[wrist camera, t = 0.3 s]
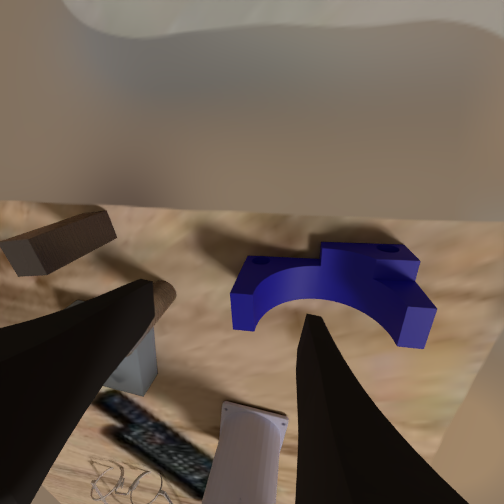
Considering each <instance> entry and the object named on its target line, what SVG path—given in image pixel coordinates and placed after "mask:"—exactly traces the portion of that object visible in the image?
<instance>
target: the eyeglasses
mask: <svg viewBox="0 0 504 504" xmlns="http://www.w3.org/2000/svg"><path fill="white" fill-rule="evenodd" d="M112 468H113V467H111V468H109V469H107V470H106V471H104V472H103V473H102V474H101V475H100V476H99V477H98V479H97V480H92V482H91V484H92V486H93V487H92V489H91V497H92V491H93V488H94V489H95V490H96V492H97V493H98V495H99V496H100V498H99V499H94V498H93V497H92V499H93V500H95V501H99V500H102V501H103V502H104V504H107V502H106V500H105V499H104V498H106V497H107V496H108V495H110V494H111V493H112V492H113V491H114V489H115V488H116V489H115V494H120V495H129V492H130V491H131V495H130V499H131V496H132V491H133V490H135V488H136V487H137V485H138V484H139V480H140V479H141V478H142V477H143V476H144V475H146V474H148V473H151V472H148V471H145V472H144V473H142V474H141V475H139V476H138V477H137V478H136V480H135V481H134V482H133V483H132V485H131V486H130V487H129V491H128V493H119V492H116V491H117V489H118V488H119V487H120V486H121V485H122V487H123V484H124V479H125V478H123V476H124V469H123V468H122V469H121V468H120V469H121V476H120V479H119V481H118V483H117V484H116V486H115V487H114V488H113V489H112V490H111V491H110V492H109V493H108V494H107V495H105V496H104V497H103V496H102V494H101V492H100V491H99V489H98V488H97V486H96V483H97V481H98V480H99V478H100V477H101V476H102V475H103V474H104V473H106V472H107V471H108V470H110V469H112ZM122 470H123V474H122ZM158 474H159V475H160V473H158ZM121 477H122V478H121ZM160 477H161V475H160ZM122 479H123V482H122ZM132 486H133V487H132ZM122 487H121V488H122ZM161 488H162V477H161V487H160V490H159V492H158V494H157V495H156V497H155V498H154V499H153V500H152V501H151V502H150V503H148V504H151V503H152V502H153V501H154V500H155V499H156V498H157V496H158V495H159V494H161V495H163V496H165V498H166V499H167V501H168V502H169V504H173V503H172V501H171V500H170V498H169V496H168V495H167V493H166V492H165V491H163V490H161ZM131 503H132V499H131ZM132 504H133V503H132Z"/></svg>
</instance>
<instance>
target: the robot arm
mask: <svg viewBox="0 0 504 504" xmlns="http://www.w3.org/2000/svg"><path fill="white" fill-rule="evenodd" d="M154 317H155V307H154V293H153V281H148V280H143V279H139V280H136V281H134V282H131V283H128V284H126V285H124V286H121V287H119V288H117V289H114V290H112V291H109V292H107V293H105V294H102V295H100V296H98V297H95V298H93V299H90V300H88V301H85V302H82V303H80V304H77V305H74V306H72V307H69V308H67V309H64V310H61V311H58V312H55V313H52V314H49V315H46V316H43V317H40V318H36V319H33V320H30V321H26V322H22V323H19V324H15V325H11V326H7V327H3V328H0V504H31V502H32V500H33V499H34V497H35V495H36V493H37V491H38V490H39V488H40V486H41V484H42V483H43V481H44V479H45V477H46V475H47V474H48V472H49V470H50V468H51V467H52V465H53V463H54V462H55V460H56V458H57V457H58V455H59V453H60V452H61V450H62V448H63V447H64V445H65V443H66V442H67V440H68V438H69V437H70V435H71V433H72V432H73V430H74V429H75V427H76V425H77V424H78V422H79V421H80V419H81V418H82V416H83V414H84V413H85V411H86V410H87V408H88V407H89V405H90V404H91V402H92V401H93V399H94V398H95V396H96V395H97V393H98V392H99V390H100V389H101V388H102V386H103V385H104V383H105V382H106V381H107V379H108V378H109V377H110V376H111V374H112V373H113V372H114V371H115V369H116V368H117V367H118V366H119V365H120V363H121V362H122V361H123V360H124V358H125V357H126V356H127V355H128V354H129V352H130V351H131V350H132V349H133V347H134V346H135V345H136V344H137V342H138V341H139V340H140V339H141V337H142V336H143V335H144V333H145V332H146V330H147V329H148V327H149V325H150V324H151V322H152V320H153V319H154ZM296 384H297V408H298V459H297V480H296V499H295V504H469V503H468V502H467V501H465V500H464V499H463V498H462V497H461V496H460V495H459V494H458V493H457V492H456V491H455V490H454V489H453V488H452V487H451V486H450V485H449V484H448V483H447V482H446V481H445V480H443V479H442V478H441V477H440V476H439V475H438V474H437V473H436V472H435V471H434V470H433V469H432V467H431V466H430V465H429V464H428V463H427V462H426V461H425V460H424V459H423V458H422V457H421V456H420V455H419V454H418V453H417V452H416V451H415V450H414V449H413V448H412V447H411V445H410V444H409V443H408V442H407V441H406V440H405V439H404V438H403V437H402V436H401V434H400V433H399V432H398V431H397V430H396V429H395V427H394V426H393V425H392V424H391V423H390V422H389V421H388V419H387V418H386V417H385V416H384V415H383V413H382V412H381V411H380V410H379V409H378V407H377V406H376V405H375V403H374V402H373V401H372V400H371V398H370V397H369V396H368V394H367V393H366V392H365V390H364V389H363V387H362V386H361V384H360V383H359V382H358V380H357V379H356V377H355V376H354V374H353V373H352V371H351V369H350V368H349V366H348V365H347V363H346V361H345V360H344V358H343V356H342V355H341V353H340V351H339V350H338V348H337V346H336V344H335V342H334V341H333V339H332V337H331V335H330V333H329V331H328V329H327V327H326V325H325V323H324V321H323V319H322V317H321V316H316V315H311V314H307V315H306V318H305V322H304V326H303V330H302V333H301V337H300V341H299V345H298V349H297V363H296ZM287 425H288V417H286V416H283V415H279V414H275V413H271V412H267V411H264V410H260V409H256V408H252V407H248V406H244V405H240V404H236V403H232V402H228V401H224V402H223V404H222V413H221V424H220V436H219V442H218V446H217V449H216V453H215V457H214V460H213V464H212V468H211V471H210V475H209V478H208V482H207V486H206V489H205V493H204V497H203V500H202V504H276V493H277V479H278V464H279V453H280V450H281V446H282V443H283V439H284V436H285V432H286V429H287Z"/></svg>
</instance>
